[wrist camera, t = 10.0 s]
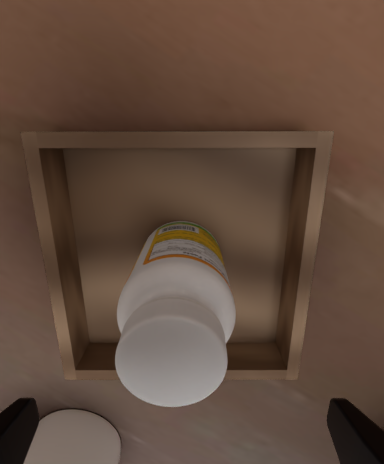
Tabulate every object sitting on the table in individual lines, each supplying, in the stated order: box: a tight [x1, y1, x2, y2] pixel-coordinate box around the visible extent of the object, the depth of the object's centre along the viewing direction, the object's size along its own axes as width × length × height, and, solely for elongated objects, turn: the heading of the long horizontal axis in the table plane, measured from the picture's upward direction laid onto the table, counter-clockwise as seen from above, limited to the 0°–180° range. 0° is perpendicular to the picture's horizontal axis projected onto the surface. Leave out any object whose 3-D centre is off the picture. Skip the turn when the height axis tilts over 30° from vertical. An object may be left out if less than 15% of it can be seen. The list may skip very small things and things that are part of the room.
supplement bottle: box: [115, 221, 236, 407], centre depth 14 cm, size 5×5×10 cm
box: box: [20, 131, 334, 380], centre depth 18 cm, size 16×16×4 cm
